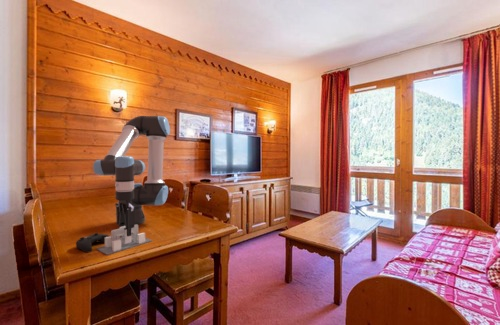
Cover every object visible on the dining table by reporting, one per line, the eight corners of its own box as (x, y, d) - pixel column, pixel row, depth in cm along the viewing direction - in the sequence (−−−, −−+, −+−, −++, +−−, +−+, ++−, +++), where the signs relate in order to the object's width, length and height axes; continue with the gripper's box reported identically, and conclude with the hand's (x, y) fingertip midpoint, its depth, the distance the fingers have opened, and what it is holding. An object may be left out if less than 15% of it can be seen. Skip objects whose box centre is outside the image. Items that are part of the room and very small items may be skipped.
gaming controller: (89, 243, 101) (70, 237, 103) (87, 257, 102) (68, 250, 104) (115, 232, 115) (97, 227, 117) (113, 244, 115) (96, 239, 117)
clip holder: (96, 249, 105) (96, 239, 105) (140, 236, 121) (140, 227, 121) (107, 255, 99) (106, 244, 99) (151, 241, 116) (151, 231, 115)
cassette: (137, 239, 116) (136, 223, 115) (139, 240, 115) (139, 224, 114) (110, 247, 106) (110, 230, 106) (112, 248, 105) (112, 231, 105)
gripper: (107, 189, 111) (108, 239, 112) (126, 193, 101) (126, 248, 102) (123, 187, 117) (124, 235, 118) (143, 191, 107) (143, 243, 108)
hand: (125, 241), depth 110 cm, fingers open, 4 cm apart
